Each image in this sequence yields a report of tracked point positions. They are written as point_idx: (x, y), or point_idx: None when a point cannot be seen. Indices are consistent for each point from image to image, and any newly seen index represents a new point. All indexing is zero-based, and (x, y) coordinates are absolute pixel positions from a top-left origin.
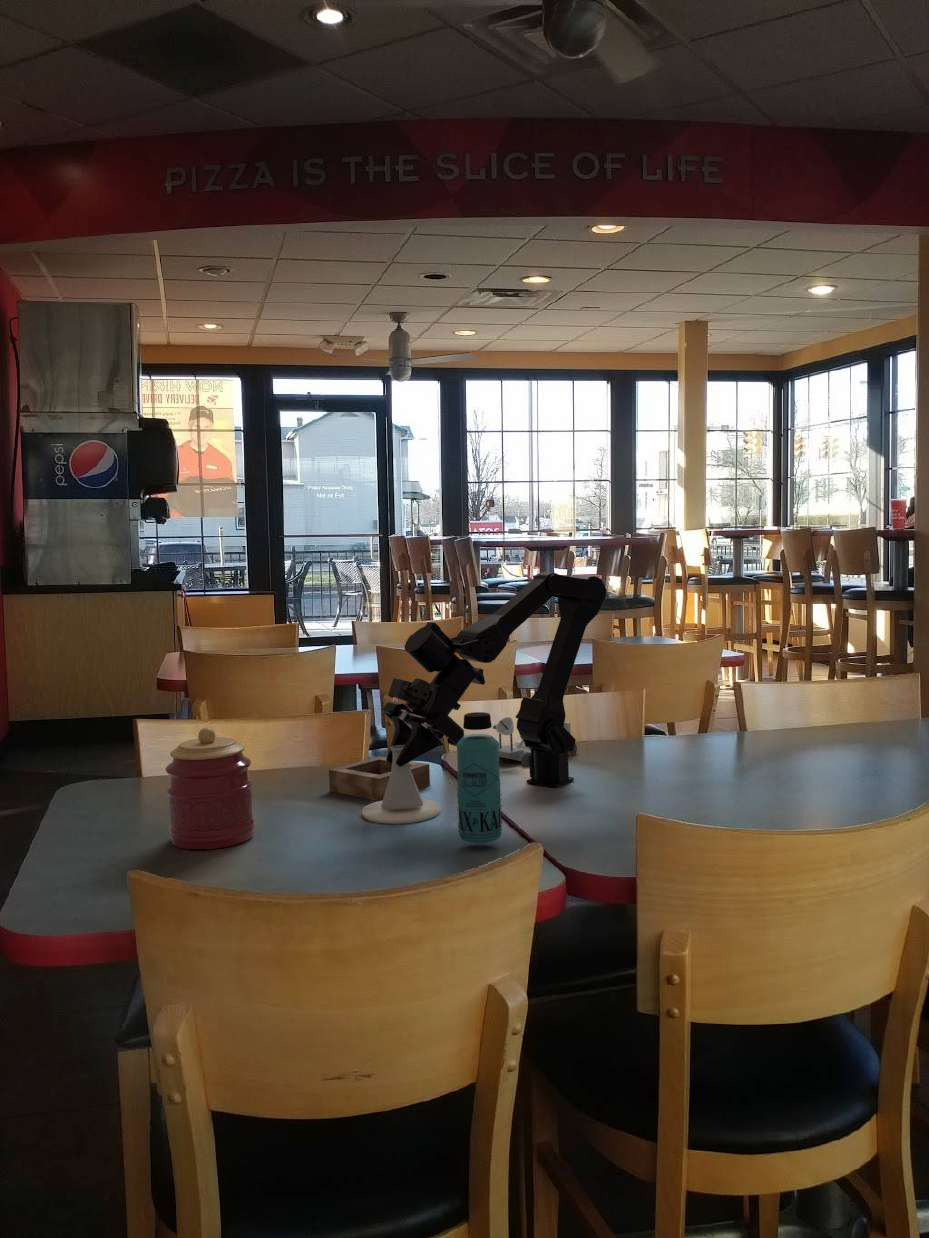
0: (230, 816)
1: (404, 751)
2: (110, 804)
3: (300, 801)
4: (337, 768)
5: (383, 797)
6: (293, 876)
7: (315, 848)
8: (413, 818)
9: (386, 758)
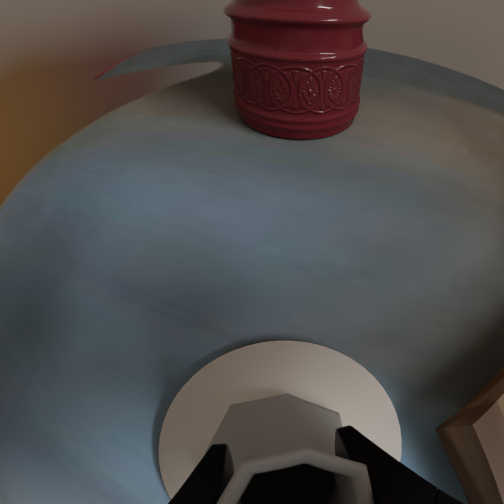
0: (234, 77)
1: (172, 499)
2: (478, 94)
3: (487, 252)
4: None
5: (444, 439)
6: (72, 162)
7: (141, 197)
8: (160, 439)
9: (350, 427)
